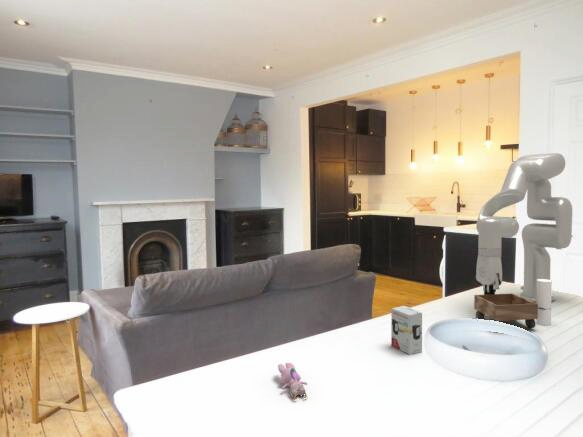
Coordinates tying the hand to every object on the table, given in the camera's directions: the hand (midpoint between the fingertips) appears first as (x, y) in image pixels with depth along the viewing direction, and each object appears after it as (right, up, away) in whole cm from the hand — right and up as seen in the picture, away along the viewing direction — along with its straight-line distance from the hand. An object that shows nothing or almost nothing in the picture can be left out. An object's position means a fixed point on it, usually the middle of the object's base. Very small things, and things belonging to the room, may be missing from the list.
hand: (489, 302), depth 153 cm
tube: (+15, -6, -8) cm, 18 cm away
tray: (+1, -6, -9) cm, 11 cm away
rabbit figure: (-72, -11, -50) cm, 89 cm away
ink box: (-38, -8, -28) cm, 48 cm away
